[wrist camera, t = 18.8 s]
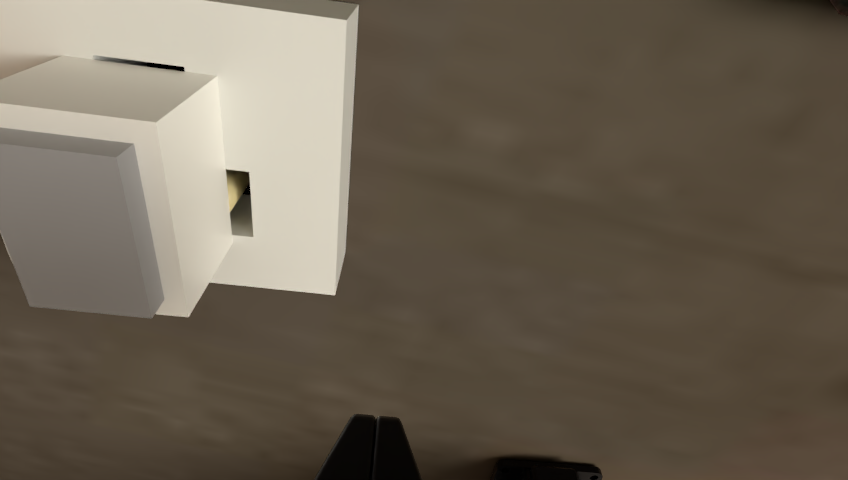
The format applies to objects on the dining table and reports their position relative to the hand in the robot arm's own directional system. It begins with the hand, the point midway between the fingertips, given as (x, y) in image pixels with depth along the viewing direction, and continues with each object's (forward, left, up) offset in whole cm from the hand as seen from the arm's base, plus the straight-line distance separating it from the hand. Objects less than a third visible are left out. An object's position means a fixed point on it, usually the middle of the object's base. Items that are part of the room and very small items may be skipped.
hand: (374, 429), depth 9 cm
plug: (0, +8, -12) cm, 14 cm away
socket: (0, +8, -12) cm, 15 cm away
